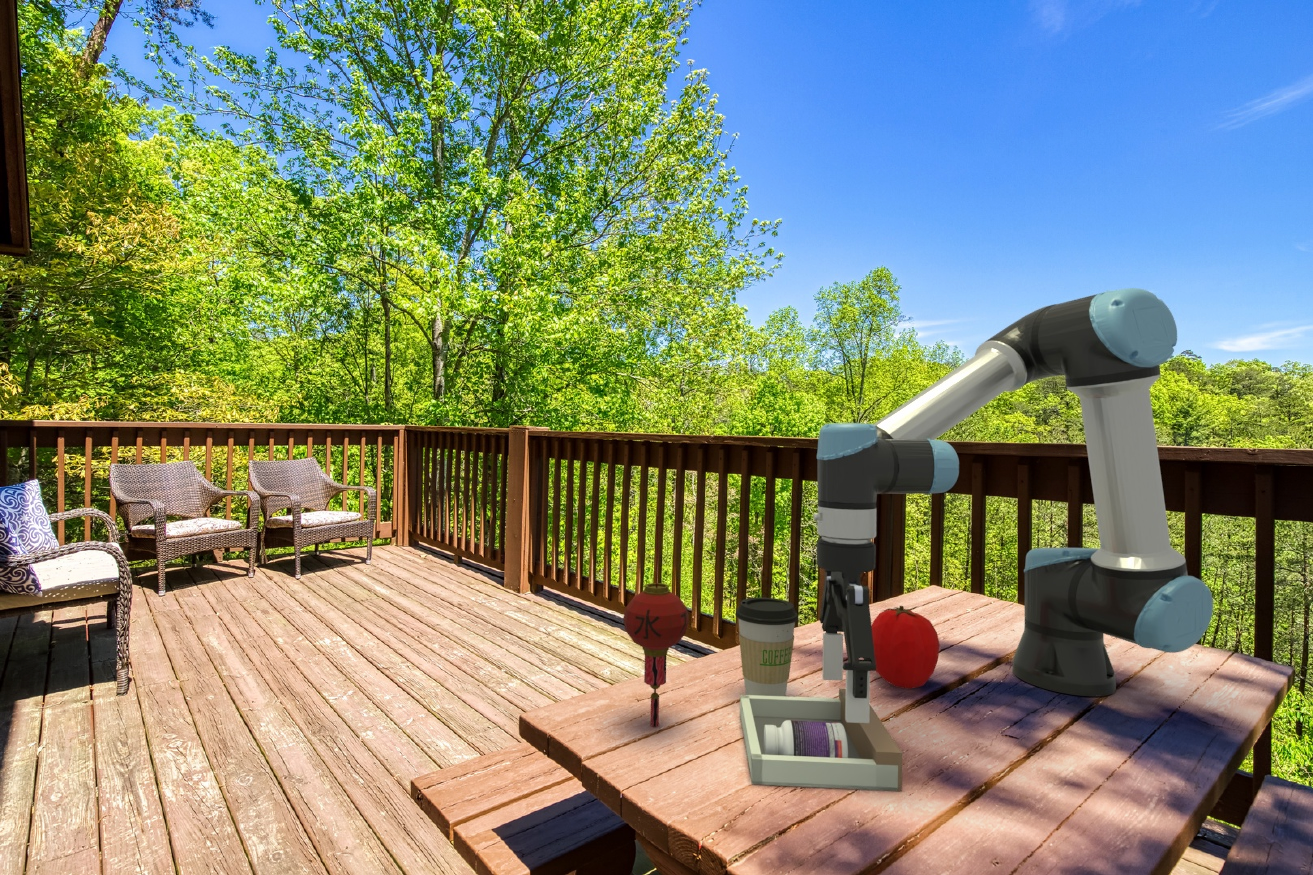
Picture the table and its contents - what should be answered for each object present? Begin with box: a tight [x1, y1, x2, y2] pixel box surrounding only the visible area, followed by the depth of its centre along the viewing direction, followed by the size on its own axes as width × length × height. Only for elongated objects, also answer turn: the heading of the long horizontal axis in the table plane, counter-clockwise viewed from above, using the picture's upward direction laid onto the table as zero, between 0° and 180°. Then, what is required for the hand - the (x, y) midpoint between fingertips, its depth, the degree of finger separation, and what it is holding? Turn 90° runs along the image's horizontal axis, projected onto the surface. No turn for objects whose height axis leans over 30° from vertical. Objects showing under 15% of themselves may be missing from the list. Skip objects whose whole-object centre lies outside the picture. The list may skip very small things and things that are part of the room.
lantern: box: [622, 514, 690, 728], centre depth 90 cm, size 10×10×30 cm
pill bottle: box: [764, 720, 848, 758], centre depth 78 cm, size 5×5×10 cm
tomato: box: [871, 605, 940, 690], centre depth 106 cm, size 12×12×13 cm
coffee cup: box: [735, 596, 799, 697], centre depth 100 cm, size 10×10×15 cm
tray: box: [739, 687, 903, 792], centre depth 84 cm, size 18×19×4 cm
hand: (843, 698), depth 83 cm, fingers open, 13 cm apart
